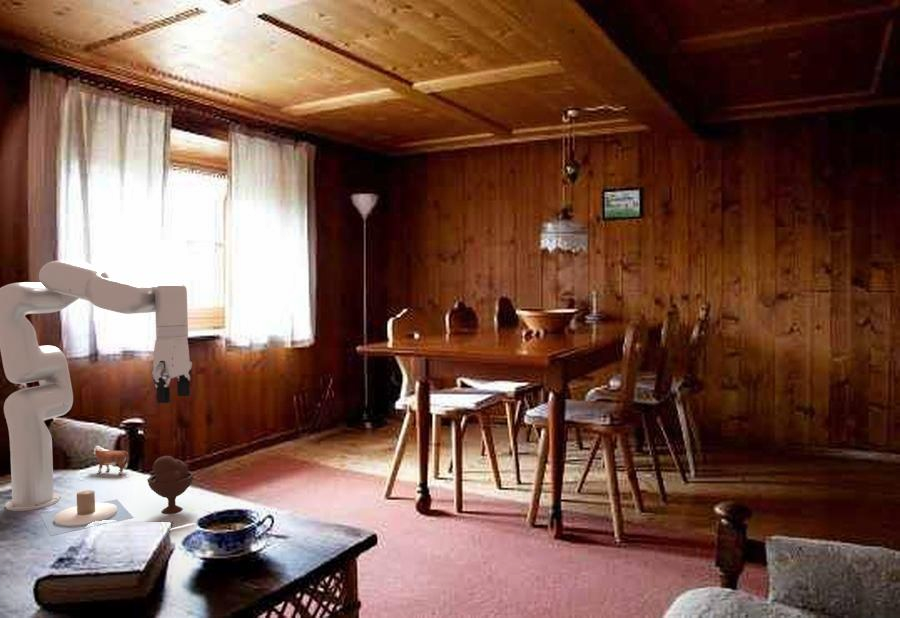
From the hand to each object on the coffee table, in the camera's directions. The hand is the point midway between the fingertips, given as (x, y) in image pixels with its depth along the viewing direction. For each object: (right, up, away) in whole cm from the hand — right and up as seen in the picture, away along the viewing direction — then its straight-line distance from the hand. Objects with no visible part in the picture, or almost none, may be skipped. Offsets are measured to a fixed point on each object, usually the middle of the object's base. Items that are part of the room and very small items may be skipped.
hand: (174, 399), depth 167 cm
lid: (-22, -30, -1) cm, 37 cm away
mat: (-22, -30, -1) cm, 37 cm away
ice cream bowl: (-2, -30, +3) cm, 30 cm away
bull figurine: (-37, -29, +39) cm, 61 cm away
